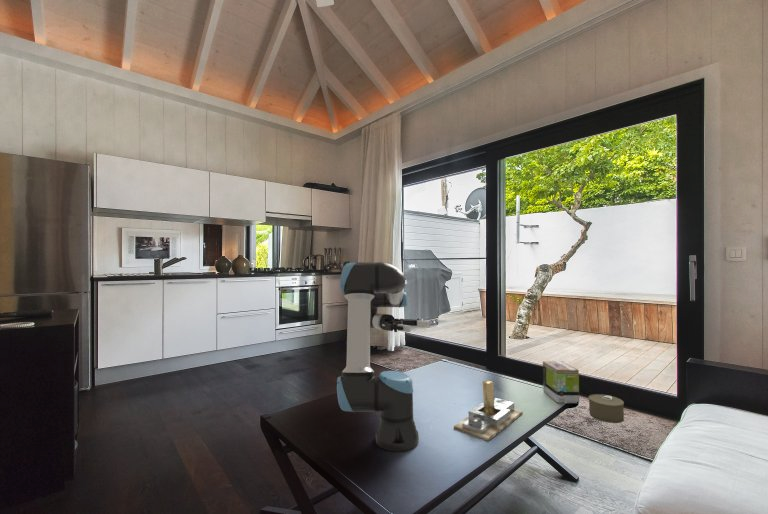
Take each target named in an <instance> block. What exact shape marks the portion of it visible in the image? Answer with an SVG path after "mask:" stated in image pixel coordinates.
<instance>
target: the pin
mask: <svg viewBox="0 0 768 514" xmlns="http://www.w3.org/2000/svg"><path fill="white" fill-rule="evenodd" d="M482 392H483V393H482V394H483V395H482V396H483V397H482V398H483V402H484V413H486V414H490V415H493V416H494V415H495V409H494V399H495V394H494V393H495V392H494V382H493V381H491V380H484V381H482Z"/></svg>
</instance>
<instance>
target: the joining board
mask: <svg viewBox="0 0 768 514" xmlns="http://www.w3.org/2000/svg"><path fill="white" fill-rule="evenodd" d="M523 413H524V412H523V410H520V409H517V408H514V411H512V412H511V418H509V419H508V420H507V421H506V422H504V423H503V424H502V425H500V426H499V427H498V428H496V427H493V426H492V427H491V428H490V429H488V430H487V431H486V432H484V433H483V434H480V433H477V432H474V431H471V430H468V429H465V428H462V423H463V422H465V421H467V420H468V419H469V416H467V417H465V418H464V419H462V420H461V421H459V422H458V423H456V424H454V426H453V429H454V430H456V431H460V432H463V433H465V434H468V435H471V436H474V437H476V438H480V439H481V440H485V441H488V442H489V441H491V440H492V439H493V438H494V437H495V436H497V435H498V434H499V433H501V430H502V431H503V430H504V429H506V428H507V427H508V426H509V425H511V423H513V422H514V421H515V420H516V419H518V418H519V417H520V416H521V415H523ZM496 434H497V435H496Z"/></svg>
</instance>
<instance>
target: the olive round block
mask: <svg viewBox="0 0 768 514" xmlns="http://www.w3.org/2000/svg"><path fill="white" fill-rule="evenodd" d="M588 404H589V406H588V407H589V409H588V410H589V416H591V418H593V419H595V420H597V421H600V422H604V423H609V424H620V423H623V422H624V421H625V417H624V415H625V412H624V406H625V405H624V404H625V402H624V401H623V399H621V398H618V397H617V396H612V395H609V394H603V393H593V394H589V395H588Z"/></svg>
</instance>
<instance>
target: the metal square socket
mask: <svg viewBox="0 0 768 514" xmlns="http://www.w3.org/2000/svg"><path fill="white" fill-rule="evenodd" d="M494 409H495V415H494V416H493V415H490V414H486V413H484V401H483V402H481V403H479V404H477V405H475V407H473V408H471V409H469V410H468V417H469V419H468V420H467V421H465V422H463V423H462V428H465V429H468V430H471V431H474V432H477V433H480V434H483V433H484V432H486V431H487V430H488V429H490V428H491V427H492V426H493V427H496V428H498V427H499V426H500V425H502V424H503V423H504V422H506V421H507V420H508V419H509V418H511V412H512V411H514V409H515V402H514V401H510V400H505V399H501V398H499V397H498V398H497V397H494Z"/></svg>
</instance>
